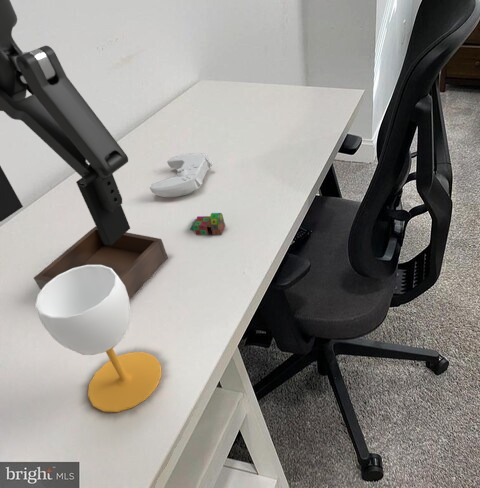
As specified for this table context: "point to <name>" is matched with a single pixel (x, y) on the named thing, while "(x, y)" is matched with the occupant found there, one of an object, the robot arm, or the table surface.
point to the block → (208, 224)
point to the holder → (111, 258)
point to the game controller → (183, 175)
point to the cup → (98, 333)
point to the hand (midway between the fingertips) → (61, 224)
